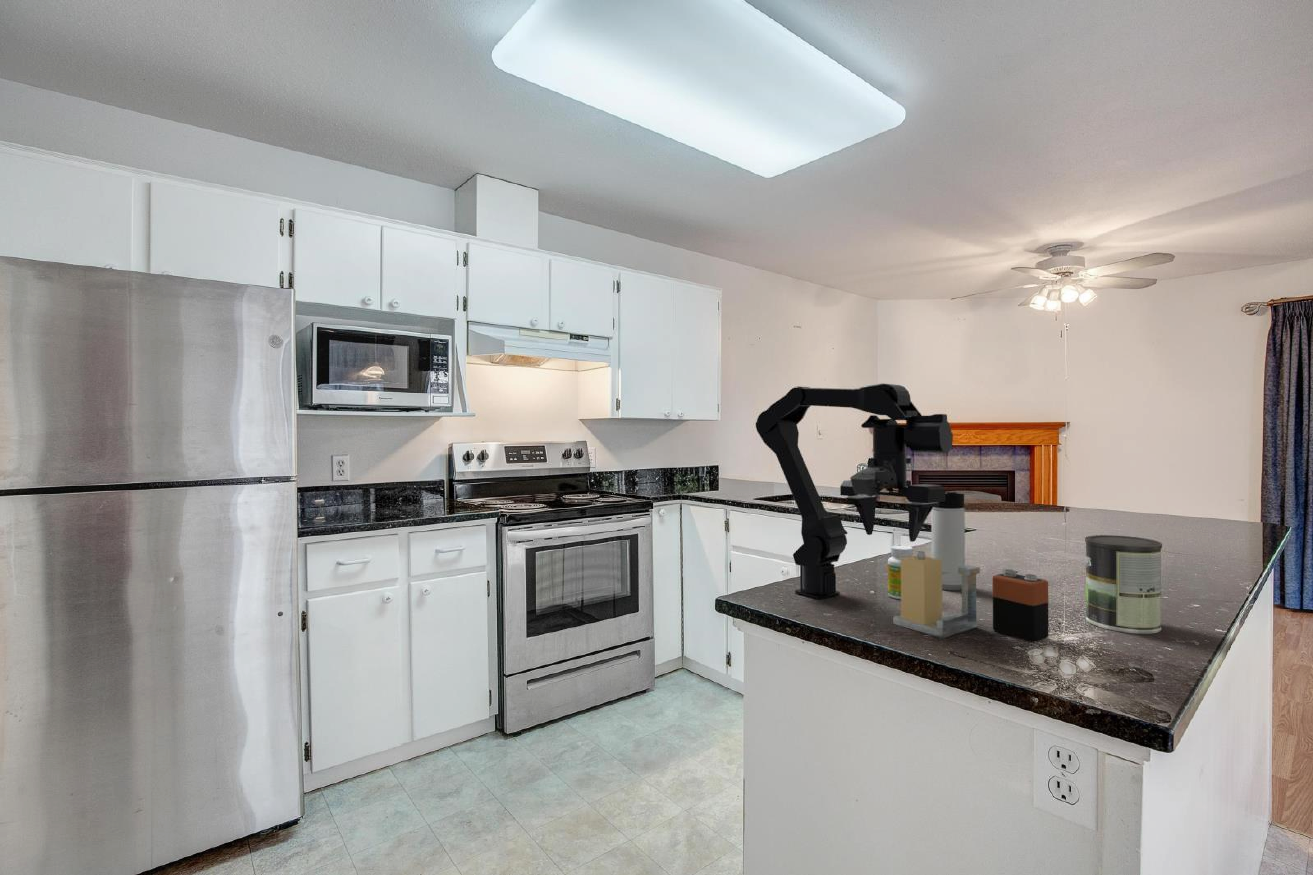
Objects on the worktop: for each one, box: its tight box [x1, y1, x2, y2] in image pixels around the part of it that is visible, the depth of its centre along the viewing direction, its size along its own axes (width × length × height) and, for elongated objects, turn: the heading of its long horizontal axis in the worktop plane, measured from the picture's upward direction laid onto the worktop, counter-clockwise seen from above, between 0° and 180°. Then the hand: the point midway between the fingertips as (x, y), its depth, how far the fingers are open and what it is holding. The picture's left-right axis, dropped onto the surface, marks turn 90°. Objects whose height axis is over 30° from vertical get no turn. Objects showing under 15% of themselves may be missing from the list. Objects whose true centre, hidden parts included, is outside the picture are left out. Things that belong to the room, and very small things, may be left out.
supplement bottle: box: [887, 545, 914, 600], centre depth 124 cm, size 5×5×10 cm
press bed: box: [892, 564, 981, 639], centre depth 106 cm, size 10×10×10 cm
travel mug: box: [930, 491, 966, 592], centre depth 131 cm, size 6×7×20 cm
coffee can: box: [1084, 534, 1163, 635], centre depth 105 cm, size 10×10×14 cm
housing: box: [900, 550, 943, 625], centre depth 105 cm, size 4×4×11 cm
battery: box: [992, 568, 1049, 643], centre depth 101 cm, size 4×7×10 cm, turn 29°
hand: (890, 537), depth 116 cm, fingers open, 9 cm apart
